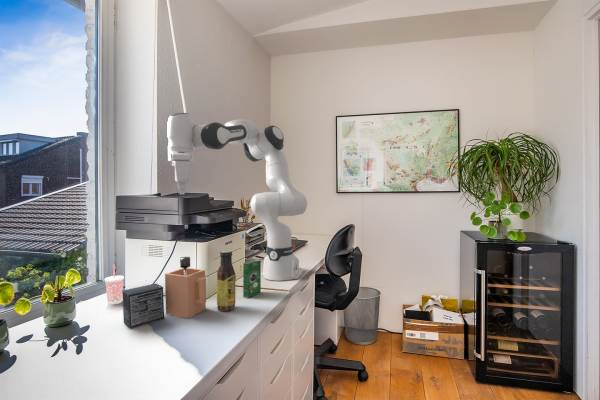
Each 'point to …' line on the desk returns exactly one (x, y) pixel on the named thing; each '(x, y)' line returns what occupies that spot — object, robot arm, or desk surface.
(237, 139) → the robot arm
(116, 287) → the beverage cup
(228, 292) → the sauce bottle
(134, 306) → the small box
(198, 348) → the desk surface
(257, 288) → the coffee box
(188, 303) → the square terracotta mug
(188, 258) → the plunger
